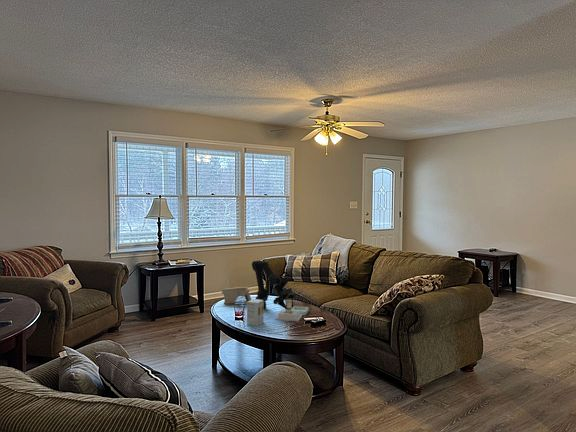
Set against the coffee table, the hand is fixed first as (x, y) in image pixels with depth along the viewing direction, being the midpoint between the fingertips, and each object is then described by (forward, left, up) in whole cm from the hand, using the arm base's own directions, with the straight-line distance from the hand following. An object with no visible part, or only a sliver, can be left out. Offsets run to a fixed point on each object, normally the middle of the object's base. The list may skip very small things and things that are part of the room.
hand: (289, 308), depth 298 cm
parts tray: (+4, +16, -8) cm, 18 cm away
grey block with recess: (-1, +1, -8) cm, 8 cm away
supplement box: (-21, -18, -8) cm, 29 cm away
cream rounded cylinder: (-1, +1, -7) cm, 7 cm away
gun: (-54, +28, -8) cm, 61 cm away
